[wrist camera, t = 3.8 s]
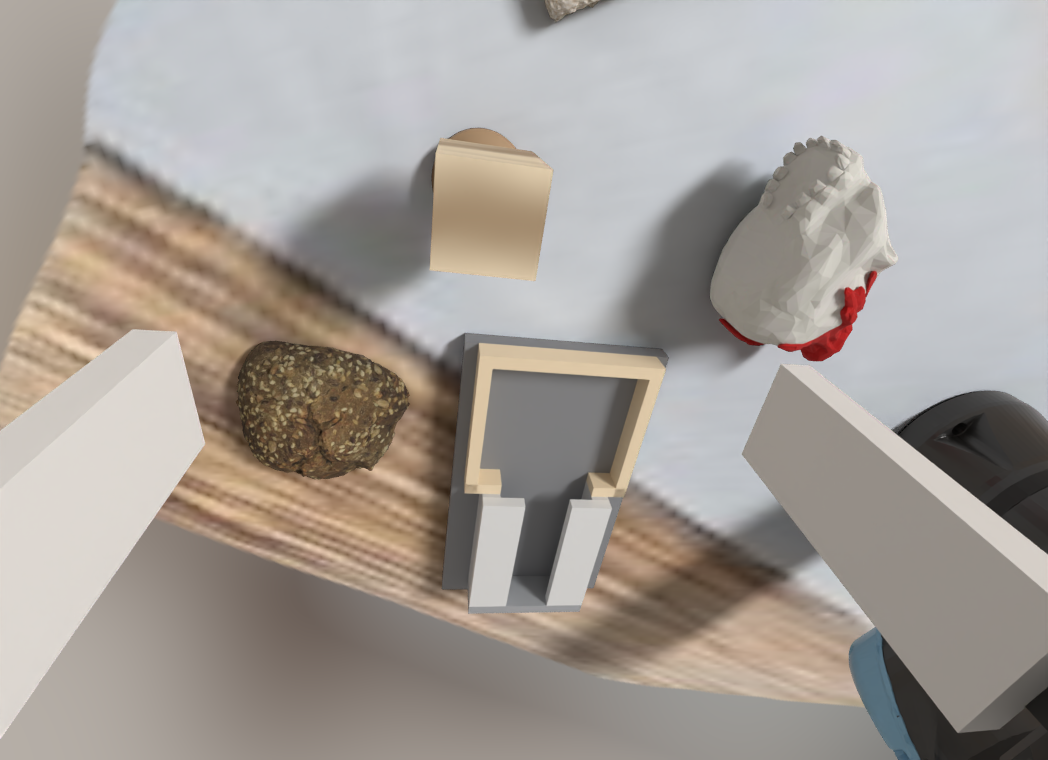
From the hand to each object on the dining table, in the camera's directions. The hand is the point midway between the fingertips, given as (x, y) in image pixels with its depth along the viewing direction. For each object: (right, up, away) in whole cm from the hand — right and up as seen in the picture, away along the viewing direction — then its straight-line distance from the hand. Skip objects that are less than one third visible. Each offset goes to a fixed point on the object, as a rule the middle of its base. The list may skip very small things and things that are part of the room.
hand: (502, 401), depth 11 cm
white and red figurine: (+19, +10, +26) cm, 34 cm away
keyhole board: (+2, -8, +34) cm, 35 cm away
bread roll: (-16, -2, +29) cm, 33 cm away
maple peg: (-2, +14, +21) cm, 25 cm away
